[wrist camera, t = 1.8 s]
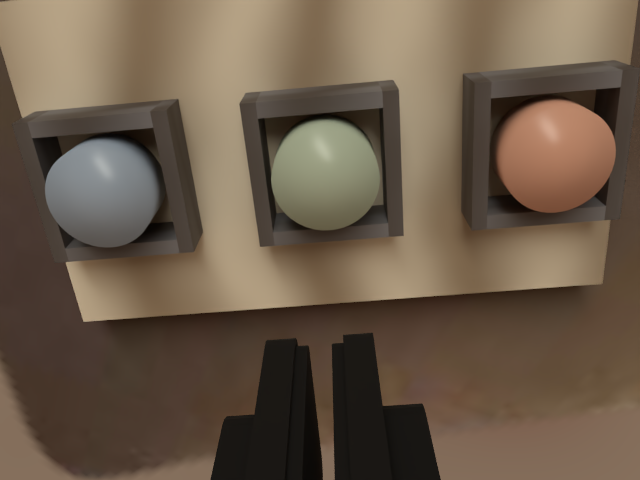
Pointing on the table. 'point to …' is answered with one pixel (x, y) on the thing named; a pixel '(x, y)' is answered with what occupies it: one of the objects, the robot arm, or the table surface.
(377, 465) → the robot arm
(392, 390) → the table surface
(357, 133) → the sage button
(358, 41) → the button panel
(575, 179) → the terracotta button
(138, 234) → the slate button
